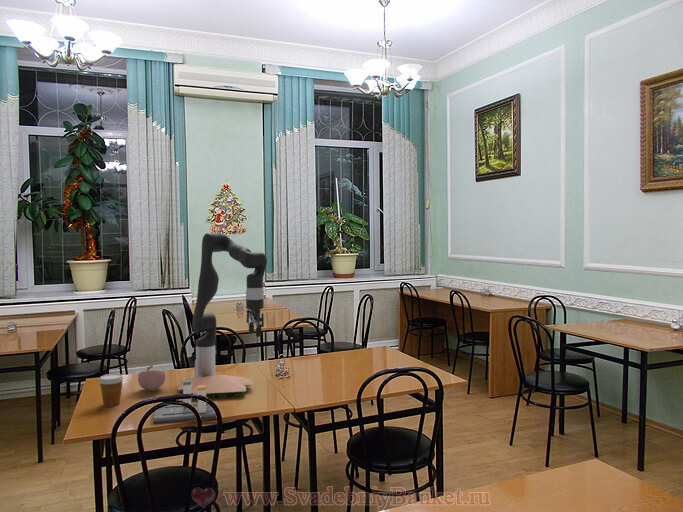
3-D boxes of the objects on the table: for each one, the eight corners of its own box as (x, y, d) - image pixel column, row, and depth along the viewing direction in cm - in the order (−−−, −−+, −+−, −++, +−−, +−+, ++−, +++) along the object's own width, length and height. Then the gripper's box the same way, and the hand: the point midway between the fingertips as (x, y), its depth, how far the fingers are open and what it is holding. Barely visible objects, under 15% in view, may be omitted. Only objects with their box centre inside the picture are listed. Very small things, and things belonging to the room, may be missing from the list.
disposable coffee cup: (99, 409, 210) (99, 380, 209) (98, 402, 218) (98, 375, 218) (124, 406, 214) (124, 377, 214) (123, 399, 223) (122, 372, 222)
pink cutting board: (252, 398, 227) (252, 379, 226) (175, 402, 220) (174, 384, 220) (250, 383, 249) (250, 367, 249) (180, 387, 242) (180, 370, 242)
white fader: (191, 406, 211) (191, 379, 210) (191, 408, 208) (190, 381, 207) (183, 406, 210) (183, 380, 210) (183, 409, 207) (183, 382, 207)
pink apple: (166, 385, 244) (165, 361, 243) (165, 392, 232) (165, 368, 232) (139, 387, 240) (138, 363, 240) (137, 395, 229) (136, 370, 228)
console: (153, 423, 194) (153, 418, 194) (157, 410, 209) (157, 405, 209) (217, 418, 200) (217, 412, 200) (217, 405, 215) (217, 400, 215)
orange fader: (206, 412, 204) (205, 385, 203) (206, 414, 201) (205, 387, 200) (198, 412, 203) (198, 385, 202) (198, 415, 200) (197, 387, 199)
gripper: (240, 296, 225) (241, 333, 226) (252, 300, 213) (252, 338, 213) (256, 295, 229) (257, 331, 229) (269, 299, 217) (269, 336, 217)
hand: (255, 334), depth 221 cm, fingers open, 8 cm apart
